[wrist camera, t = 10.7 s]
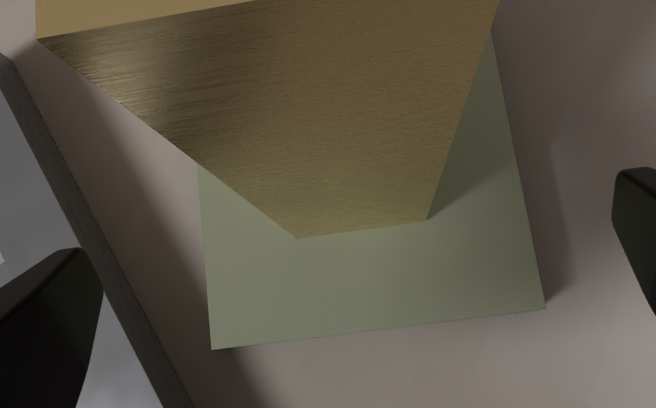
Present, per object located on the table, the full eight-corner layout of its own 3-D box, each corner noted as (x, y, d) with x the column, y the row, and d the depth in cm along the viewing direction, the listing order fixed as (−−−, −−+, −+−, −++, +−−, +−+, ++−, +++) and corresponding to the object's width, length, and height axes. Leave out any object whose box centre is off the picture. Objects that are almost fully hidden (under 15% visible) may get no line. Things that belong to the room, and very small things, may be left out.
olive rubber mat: (537, 309, 17) (546, 309, 16) (221, 347, 18) (211, 349, 17) (480, 14, 19) (484, -2, 18) (198, 62, 20) (188, 49, 19)
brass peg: (425, 221, 17) (515, -47, 4) (296, 239, 17) (36, 38, 5) (406, 98, 18) (434, -426, 5) (283, 118, 18) (31, -328, 6)
